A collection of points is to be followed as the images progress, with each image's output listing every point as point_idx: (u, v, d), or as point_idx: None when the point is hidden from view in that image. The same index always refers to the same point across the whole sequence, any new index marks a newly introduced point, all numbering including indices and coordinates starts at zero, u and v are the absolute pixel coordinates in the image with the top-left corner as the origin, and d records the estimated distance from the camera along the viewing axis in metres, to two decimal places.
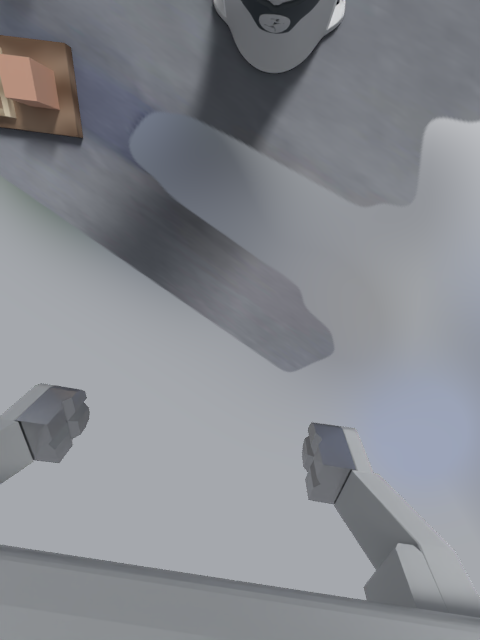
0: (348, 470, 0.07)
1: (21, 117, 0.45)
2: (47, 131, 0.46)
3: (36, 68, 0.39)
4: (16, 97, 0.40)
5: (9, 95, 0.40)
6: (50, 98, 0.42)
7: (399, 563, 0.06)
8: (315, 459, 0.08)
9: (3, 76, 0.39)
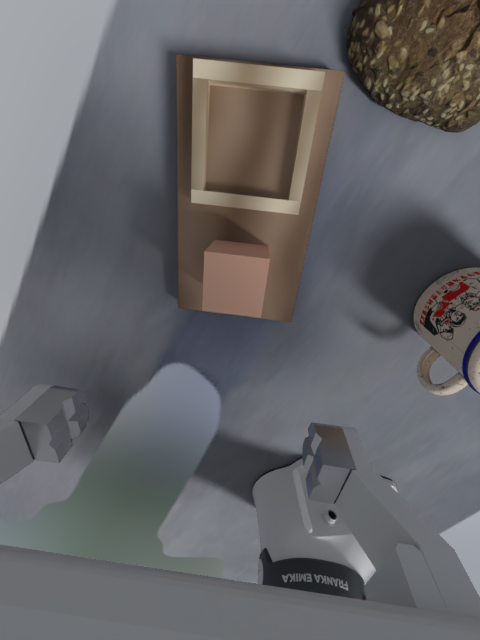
0: (348, 470, 0.07)
1: (196, 212, 0.23)
2: (179, 257, 0.25)
3: None
4: (205, 274, 0.21)
5: (207, 261, 0.20)
6: None
7: (399, 563, 0.06)
8: (315, 459, 0.08)
9: (235, 261, 0.20)
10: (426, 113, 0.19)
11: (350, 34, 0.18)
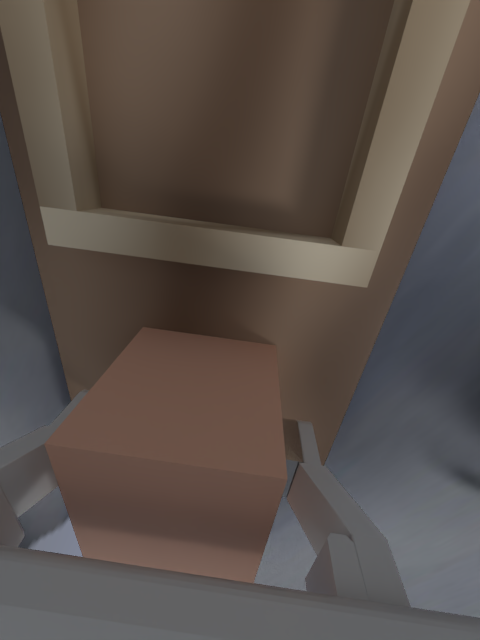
0: (296, 462, 0.07)
1: (86, 265, 0.09)
2: (65, 360, 0.11)
3: None
4: (67, 495, 0.06)
5: (65, 468, 0.06)
6: None
7: (328, 552, 0.06)
8: None
9: (163, 477, 0.06)
10: None
11: None
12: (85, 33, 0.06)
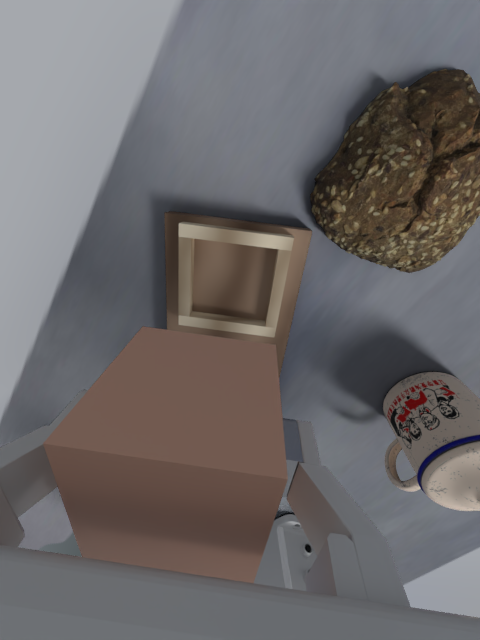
0: (296, 462, 0.07)
1: (184, 327, 0.26)
2: None
3: None
4: (66, 495, 0.06)
5: (63, 467, 0.06)
6: None
7: (328, 552, 0.06)
8: None
9: (162, 477, 0.05)
10: (380, 262, 0.22)
11: (312, 197, 0.21)
12: (194, 272, 0.23)
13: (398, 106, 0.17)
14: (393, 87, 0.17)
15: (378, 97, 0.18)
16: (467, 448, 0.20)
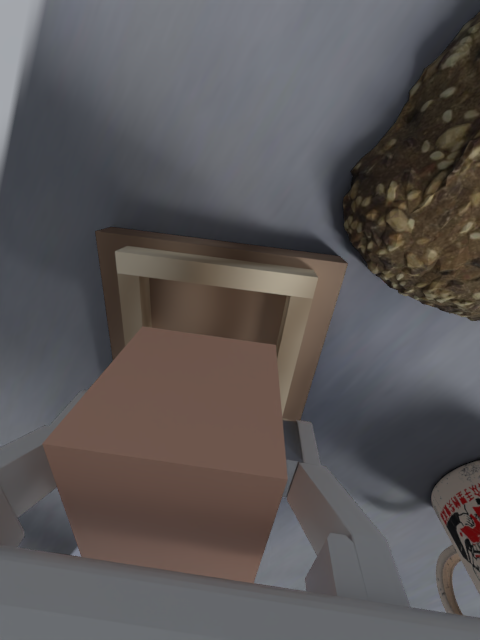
0: (296, 462, 0.07)
1: None
2: None
3: None
4: (66, 495, 0.06)
5: (63, 467, 0.06)
6: None
7: (328, 552, 0.06)
8: None
9: (162, 477, 0.05)
10: None
11: (347, 204, 0.12)
12: (153, 325, 0.14)
13: None
14: None
15: None
16: None
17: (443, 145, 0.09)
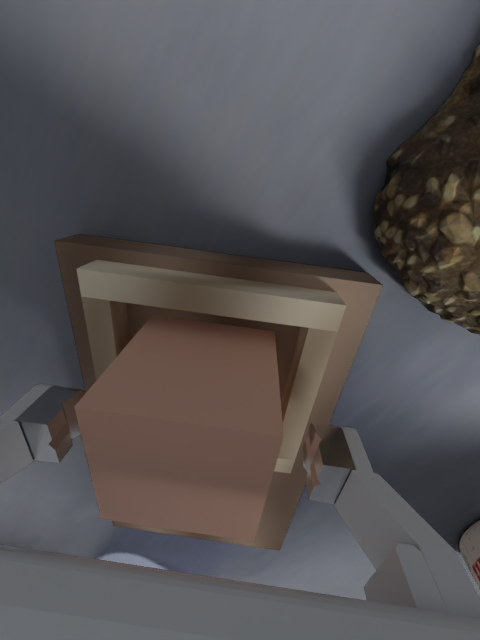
0: (348, 470, 0.07)
1: None
2: None
3: None
4: (91, 456, 0.07)
5: (91, 429, 0.07)
6: None
7: (399, 563, 0.06)
8: (315, 459, 0.08)
9: (176, 436, 0.06)
10: None
11: (381, 205, 0.09)
12: None
13: None
14: None
15: None
16: None
17: None
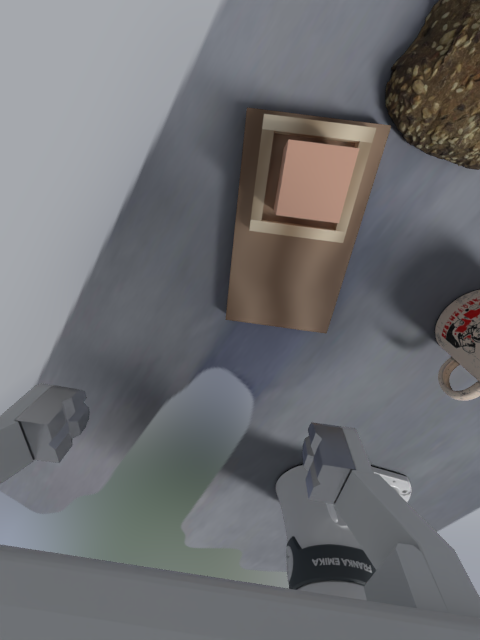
0: (348, 470, 0.07)
1: (250, 238, 0.27)
2: (231, 276, 0.28)
3: None
4: (285, 168, 0.19)
5: (290, 151, 0.19)
6: None
7: (399, 563, 0.06)
8: (315, 458, 0.08)
9: (321, 152, 0.19)
10: (452, 154, 0.22)
11: (389, 86, 0.21)
12: (269, 175, 0.24)
13: None
14: None
15: None
16: None
17: (443, 42, 0.19)
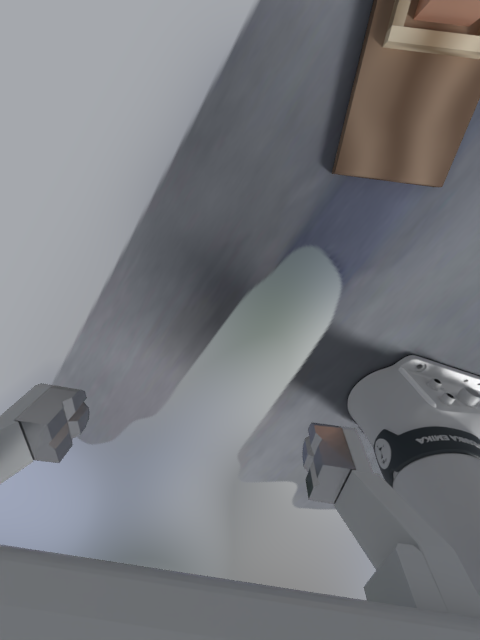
0: (348, 470, 0.07)
1: (381, 60, 0.25)
2: (351, 113, 0.27)
3: None
4: None
5: None
6: (437, 8, 0.22)
7: (399, 563, 0.06)
8: (315, 459, 0.08)
9: None
10: None
11: None
12: None
13: None
14: None
15: None
16: None
17: None
